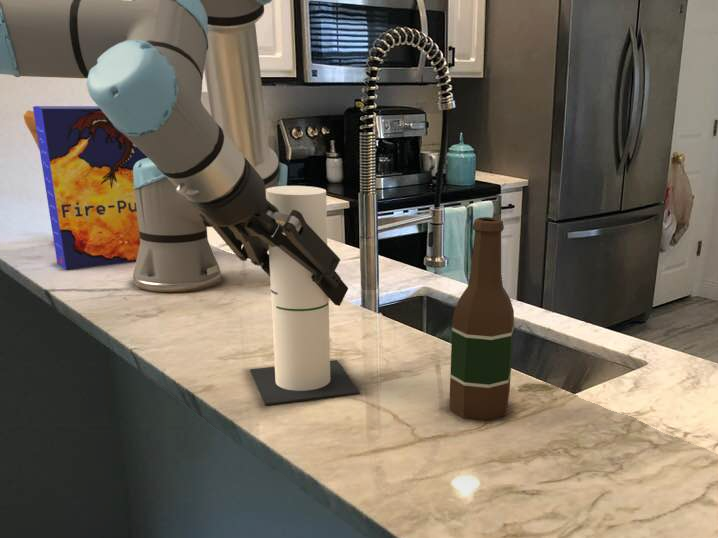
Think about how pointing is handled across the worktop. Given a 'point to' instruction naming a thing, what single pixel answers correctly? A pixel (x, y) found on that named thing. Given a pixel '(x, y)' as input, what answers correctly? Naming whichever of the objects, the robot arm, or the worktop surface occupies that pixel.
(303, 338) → the cylindrical container
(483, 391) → the beer bottle
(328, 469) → the worktop surface
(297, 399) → the mat
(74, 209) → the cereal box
